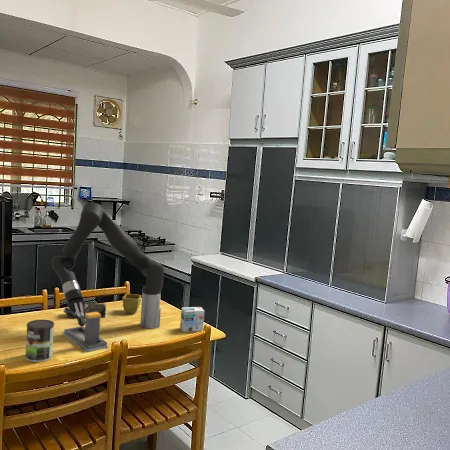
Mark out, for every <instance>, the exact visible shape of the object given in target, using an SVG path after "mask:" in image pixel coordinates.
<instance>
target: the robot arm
mask: <svg viewBox="0 0 450 450" xmlns="http://www.w3.org/2000/svg"><path fill="white" fill-rule="evenodd" d="M79 218H80V219H79V222H78V224H77V227H76V229H75V231H74V232H73V233H72V234H71V236H70V237H69V238H68V240H67V241H66V243H65V245H64V247H63V249H62V255H56V256H54V257H52V259H51V267H52V270H53V271H54V273H55V274H56V276H57V277H58V279H59V280H60V283H61V286H62V287H61V288H62V292H63V295H64V299H65V303H66V307H65V308H64V309H63V313H64V314H66V315H67V317H68V316H70V317H71V318H70V319H73V320H75V319H76V320H77V324H78V325H79V327H81V326H83V327H85V322H86V318H84V317H85V313H88V311H89V309H90V307H91V305H90V304H89V305H87V304H85V303H86V301H85V300H84V296H83V293H82V291H81V287H80V284H79V283H78V280H77V277H76V274H75V272H74V271H71V270H73V269H74V268H75V265H76V261H77V257H78V254H79V253H80V251H81V249H82V248H83V245H84V244H85V242H86V241H87V239H88V238H89V236H90V235H91V234H92V232H93V231H95V229H96V228H98V227H99V228H100V229H101V231H102V232H103V233H104V235H105V237H106V239H107V241H108V243H109V244H110V246H111V247H112V248H114V249H115V250H116V252H118V253H119V255H121V256H122V257H124V258H125V259H127V260H128V261H129V262H130V263H132V264H133V265H134V266H135V267H136V268H137V269H138V271H139V272H140V273H141V275H143V276H144V277H145V278H146V279H145V285H144V286H142V291H141V292H142V293H141V294H142V295H141V307H140V310H141V311H140V327H141V328H144V329H155V328H160V326H161V313H162V309H161V292H162V289H163V286H164V278H165V269H164V265H162V264H161V263H159V262H157V260H154V259H152V258H150V256H148V255H146V254H145V253H144V252H143V251H142V250H141V248H140V246H139V245H138V244H137V242H136V241H135V240H134V239H133V237H131V236H130V235H129V233H127V232H126V231H125V230H123V228H122V227H121V226H119V224H117V222H115V221H114V220H113V219H112V218H111V217H110V216H109V214H108V213H107V212H106V210H104V209H103V207H102V206H101V205H100V204H98V203H96V202H87V203H85V204H84V206H83V208H82V210H81V213H80V217H79ZM84 306H85V309H86V310H85V312H84V313H83V309H84Z"/></svg>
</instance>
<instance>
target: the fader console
mask: <svg viewBox="0 0 450 450" xmlns="http://www.w3.org/2000/svg"><path fill="white" fill-rule="evenodd" d="M62 335H63V336H64V337H65V338H67V339H68V340H70V341H71V343H73V344H75V345H76V346H77V347H79V348H80V349H81V350H82V351H84V352H85V353H88V352H93V351H98V350H103V349H107V348H109V345H108V342H107V341H106V340H104V339H102V338H101V337H100V336H99V343H94V344H88V343H87V342H85V326H77V327H76V326H75V327H71V328H69V327H68V328H64V332H62Z"/></svg>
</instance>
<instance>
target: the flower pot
mask: <svg viewBox="0 0 450 450" xmlns="http://www.w3.org/2000/svg"><path fill="white" fill-rule="evenodd" d="M141 302H142V295H141V294H131V293H125V295H124V296H122V307H123V308H122V309H123V310H124V312H125V314H134V315H136V313H137V311H138V309H139V308H140V305H141Z"/></svg>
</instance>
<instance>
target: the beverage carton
mask: <svg viewBox="0 0 450 450" xmlns="http://www.w3.org/2000/svg"><path fill="white" fill-rule="evenodd" d="M85 304H87V305H89V304H90V305H91V307H90V309H89V311H88V313H91V312H98V313H100V314H101V317H100V319H103V318H106V314H107V313H106V312H107V305H106V303H105V302H100V303H99V302H85ZM85 310H86V309H85V306H84V309H83V313H84V312H85ZM84 318H85V319H86V316H85V317H84ZM67 319H72V318H71V317H70V316H68V315H67Z"/></svg>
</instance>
